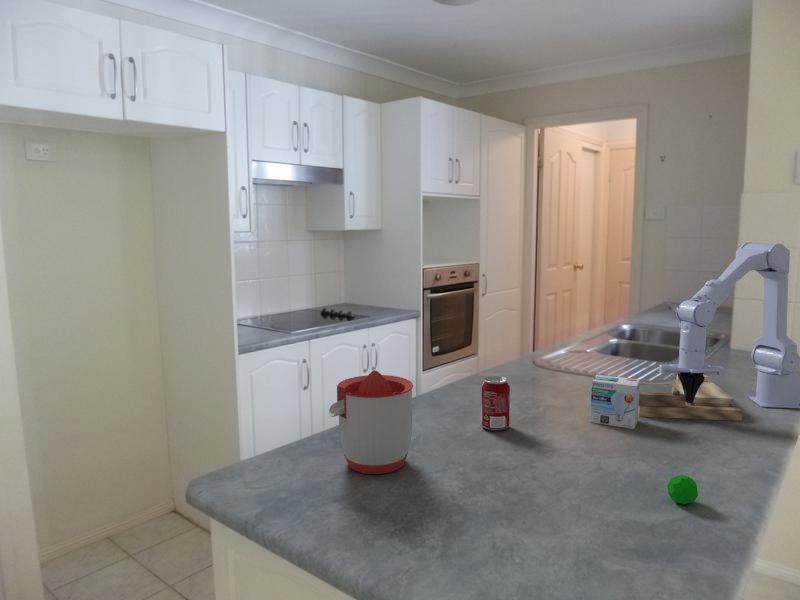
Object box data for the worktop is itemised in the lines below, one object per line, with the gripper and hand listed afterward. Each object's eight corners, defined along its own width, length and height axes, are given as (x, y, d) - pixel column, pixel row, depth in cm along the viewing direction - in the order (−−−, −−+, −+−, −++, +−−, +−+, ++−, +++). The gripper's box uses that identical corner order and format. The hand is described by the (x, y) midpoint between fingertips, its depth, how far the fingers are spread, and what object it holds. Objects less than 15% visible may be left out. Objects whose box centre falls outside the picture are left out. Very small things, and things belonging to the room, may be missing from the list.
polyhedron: (661, 502, 104) (663, 476, 104) (672, 492, 108) (673, 468, 107) (691, 512, 101) (693, 485, 100) (701, 502, 104) (703, 476, 103)
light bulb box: (589, 422, 144) (590, 380, 143) (593, 414, 150) (595, 373, 149) (635, 429, 139) (637, 385, 138) (638, 420, 145) (640, 378, 144)
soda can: (508, 433, 138) (509, 384, 136) (480, 431, 139) (480, 382, 138) (509, 423, 144) (510, 376, 143) (481, 421, 146) (482, 375, 144)
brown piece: (713, 397, 163) (714, 386, 163) (741, 420, 144) (742, 408, 144) (623, 393, 167) (623, 383, 167) (639, 416, 148) (639, 404, 148)
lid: (710, 386, 163) (711, 375, 163) (733, 404, 147) (733, 392, 147) (672, 384, 165) (672, 374, 164) (690, 402, 149) (691, 391, 149)
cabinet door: (682, 405, 148) (683, 390, 148) (685, 407, 146) (685, 392, 146) (636, 403, 150) (637, 388, 150) (638, 405, 148) (639, 391, 148)
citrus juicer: (322, 456, 126) (319, 365, 123) (398, 444, 132) (397, 358, 129) (341, 487, 111) (338, 385, 108) (425, 472, 117) (425, 375, 114)
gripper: (665, 351, 142) (662, 405, 144) (730, 353, 140) (726, 408, 142) (658, 345, 149) (655, 397, 151) (719, 347, 147) (715, 399, 149)
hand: (689, 401), depth 147 cm, fingers closed
